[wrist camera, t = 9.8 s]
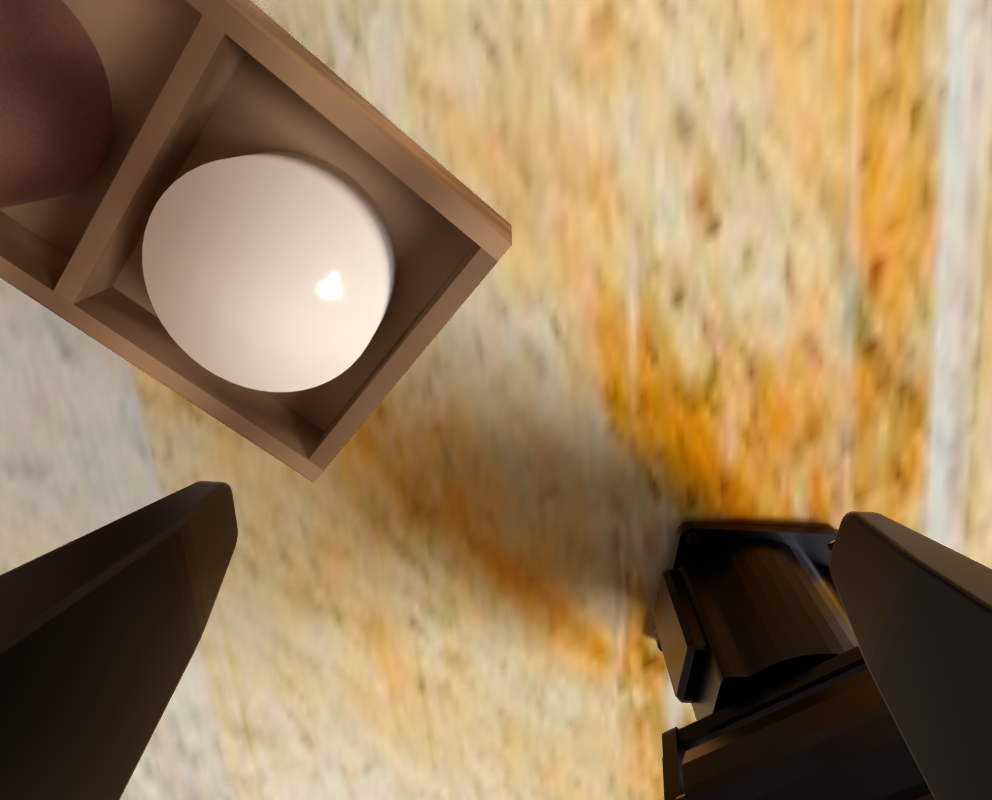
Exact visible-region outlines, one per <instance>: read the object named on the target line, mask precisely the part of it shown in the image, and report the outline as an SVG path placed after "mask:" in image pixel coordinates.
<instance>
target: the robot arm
mask: <svg viewBox="0 0 992 800" xmlns="http://www.w3.org/2000/svg"><path fill="white" fill-rule="evenodd" d="M691 533H695V535H694V536H693V537H690V538H688V537H687V535H689V534H691ZM237 537H238V528H237V521H236V515H235V508H234V502H233V495H232V490H231V488H230V486H229V485H228V484H227V483H225V482H211V481H199V482H196V483H194V484H192V485H190V486H188V487H186V488H183V489H181V490H179V491H177V492H175V493H173V494H171V495H169V496H167V497H164V498H162V499H160V500H158V501H156V502H154V503H152V504H150V505H148V506H145V507H143V508H141V509H139V510H137V511H135V512H133V513H131V514H129V515H127V516H124V517H122V518H120V519H118V520H116V521H114V522H112V523H110V524H108V525H105V526H103V527H101V528H99V529H97V530H95V531H93V532H91V533H89V534H86V535H84V536H82V537H80V538H78V539H76V540H74V541H72V542H70V543H67V544H65V545H63V546H61V547H59V548H57V549H55V550H53V551H51V552H48V553H46V554H44V555H42V556H40V557H38V558H36V559H34V560H32V561H29V562H27V563H25V564H23V565H21V566H19V567H17V568H15V569H13V570H11V571H8V572H6V573H4V574H2V575H0V800H119V799H120V798H121V796H122V794H123V792H124V790H125V788H126V786H127V784H128V782H129V780H130V778H131V776H132V774H133V772H134V770H135V768H136V766H137V764H138V762H139V760H140V758H141V756H142V754H143V752H144V750H145V748H146V746H147V744H148V742H149V740H150V738H151V736H152V734H153V732H154V730H155V728H156V726H157V725H158V723H159V721H160V719H161V717H162V715H163V713H164V711H165V709H166V707H167V705H168V703H169V701H170V699H171V697H172V695H173V693H174V691H175V689H176V687H177V685H178V683H179V681H180V679H181V677H182V675H183V673H184V671H185V669H186V667H187V665H188V663H189V661H190V659H191V657H192V655H193V654H194V651H195V649H196V647H197V645H198V643H199V641H200V639H201V637H202V634H203V632H204V629H205V627H206V624H207V622H208V619H209V617H210V614H211V611H212V608H213V606H214V603H215V600H216V598H217V595H218V592H219V590H220V587H221V584H222V581H223V579H224V576H225V573H226V571H227V568H228V565H229V563H230V560H231V557H232V555H233V552H234V549H235V546H236V543H237ZM832 540H835V541H834V542H833V543H831V544H828V543H829V542H830V541H832ZM653 620H654V624H655V627H656V631H657V633H656V642H657V646H658V648H659V650H660V651H662V652H663V655H664V658H665V662H666V665H667V669H668V672H669V676H670V679H671V683H672V686H673V690H674V693H675V696H676V697H677V698H678V699H679V700H680V702H682V703H691V704H692V707H693V710H694V713H695V717H696V720H697V721H695V722H693V723H691V724H689V725H686V726H684V727H682V728H680V729H678V728H677V727H675V728H673V729H670V730H668V731H666V732H664V733H662V745H663V758H662V760H663V779H664V799H665V800H992V569H990V568H988V567H986V566H984V565H982V564H980V563H978V562H976V561H974V560H972V559H970V558H968V557H966V556H964V555H962V554H960V553H958V552H956V551H954V550H952V549H950V548H948V547H946V546H944V545H942V544H940V543H938V542H936V541H934V540H932V539H930V538H928V537H926V536H924V535H922V534H920V533H918V532H916V531H913V530H911V529H909V528H907V527H905V526H903V525H901V524H899V523H897V522H895V521H893V520H891V519H889V518H887V517H885V516H883V515H881V514H879V513H874V512H849V513H847V514H846V515H845V516H844V517H843V519H842V521H841V524H840V527H839V530H837V529H832V528H811V527H791V526H770V525H749V524H728V523H708V522H687V523H684V524H682V525H681V526H680V527H679V529H678V531H677V535H676V539H675V544H674V549H673V554H672V559H671V564H670V569H666V570H665V571H664V572H663V573H662V577H661V582H660V587H659V592H658V597H657V602H656V607H655V612H654V617H653Z"/></svg>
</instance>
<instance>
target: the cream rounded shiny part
mask: <svg viewBox="0 0 992 800" xmlns="http://www.w3.org/2000/svg"><path fill="white" fill-rule="evenodd" d="M142 266H143V274H144V280H145V284H146V288H147V292H148V295H149V298H150V300H151V303H152V305H153V308H154V310H155V312H156V314H157V316H158V317H159V319H160V321H161V323H162V324H163V326H164V327H165V329H166V330H167V332H168V333H169V335H170V336H171V337H172V338H173V339H174V341H175V342H176V343H177V344H178V345H179V346H180V348H181V349H182V350H184V351H185V352H186V353H187V354H188V355H189V356H190V357H191V358H192V359H193V360H195V361H196V362H197V363H199V364H200V365H201V366H203V367H204V368H205V369H207V370H209V371H210V372H212V373H214V374H215V375H217V376H219V377H221V378H223V379H225V380H227V381H229V382H231V383H234V384H237V385H240V386H243V387H246V388H250V389H255V390H259V391H268V392H293V391H301V390H306V389H309V388H313V387H316V386H319V385H321V384H324V383H326V382H328V381H330V380H332V379H334V378H335V377H337V376H339V375H340V374H342V373H343V372H344V371H345V370H347V369H348V368H349V367H350V366H351V365H352V364H353V363H354V362H355V361H356V360H357V359H358V358H359V357H360V356H361V354H362V353H363V351H364V350H365V348H366V347H367V346H368V344H369V342H370V341H371V339H372V337H373V335H374V334H375V332H376V330H377V329H378V327H379V325H380V323H381V322H382V320H383V318H384V317H385V315H386V313H387V311H388V309H389V307H390V305H391V302H392V299H393V296H394V293H395V288H396V283H397V270H398V265H397V253H396V248H395V244H394V239H393V236H392V233H391V231H390V228H389V225H388V223H387V221H386V219H385V217H384V215H383V213H382V211H381V210H380V208H379V207H378V205H377V204H376V202H375V201H374V199H373V198H372V197H371V196H370V195H369V193H368V192H367V191H366V190H365V189H364V188H363V187H362V186H361V185H360V184H359V183H358V182H357V181H356V180H355V179H354V178H352V177H351V176H350V175H348V174H347V173H346V172H344V171H343V170H341V169H340V168H338V167H336V166H334V165H333V164H331V163H329V162H327V161H324V160H322V159H320V158H317V157H315V156H311V155H307V154H303V153H300V152H291V151H267V152H261V153H255V154H250V155H244V156H238V157H233V158H227V159H221V160H216V161H213V162H210V163H207V164H204V165H201V166H199V167H197V168H195V169H193V170H191V171H189V172H187V173H186V174H184V175H183V176H182V177H180V178H179V179H178V180H176V181H175V182H174V183H173V184H172V185H171V186H170V187H169V188H168V189H167V190H166V191H165V192H164V193H163V195H162V196H161V198H160V199H159V200H158V202H157V203H156V205H155V207H154V209H153V211H152V213H151V215H150V217H149V220H148V223H147V226H146V229H145V233H144V240H143V246H142Z"/></svg>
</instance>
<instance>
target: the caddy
mask: <svg viewBox="0 0 992 800" xmlns="http://www.w3.org/2000/svg"><path fill="white" fill-rule="evenodd" d="M62 1H63V2H64V3H65V4H66V5H67V7H68V8H69V9H70V10H71V11H72V12H73V14H74V15H75V16H76V17H77V19H78V20H79V21H80V23H81V24H82V26H83V27H84V29H85V30H86V32H87V33H88V35H89V37H90V38H91V40H92V42H93V44H94V46H95V48H96V49H97V51H98V54H99V56H100V58H101V60H102V63H103V65H104V68H105V70H106V74H107V77H108V80H109V84H110V89H111V95H112V103H113V124H112V131H111V136H110V141H109V144H108V147H107V150H106V153H105V155H104V158H103V159H102V161H101V163H100V165H99V166H98V168H97V169H96V171H95V172H94V173H93V174H92V176H91V177H90V178H89V179H88V180H87V181H86V182H84V183H83V184H82V185H81V186H79V187H78V188H76V189H75V190H73V191H71V192H69V193H67V194H64V195H62V196H59V197H55V198H51V199H46V200H41V201H36V202H31V203H26V204H21V205H16V206H10V207H5V208H0V278H2V279H3V280H5V281H6V282H8V283H9V284H11V285H12V286H14V287H15V288H17V289H18V290H20V291H22V292H23V293H25V294H26V295H28V296H29V297H31V298H32V299H34V300H35V301H37V302H38V303H40V304H41V305H43V306H44V307H46V308H47V309H49V310H51V311H52V312H54V313H55V314H57V315H58V316H60V317H61V318H63V319H64V320H66V321H67V322H69V323H70V324H72V325H73V326H75V327H77V328H78V329H80V330H81V331H83V332H84V333H86V334H87V335H89V336H90V337H92V338H93V339H95V340H96V341H98V342H99V343H101V344H103V345H104V346H106V347H107V348H109V349H110V350H112V351H113V352H115V353H116V354H118V355H119V356H121V357H122V358H124V359H125V360H127V361H128V362H130V363H132V364H133V365H135V366H136V367H138V368H139V369H141V370H142V371H144V372H145V373H147V374H148V375H150V376H151V377H153V378H154V379H156V380H158V381H159V382H161V383H162V384H164V385H165V386H167V387H168V388H170V389H171V390H173V391H174V392H176V393H177V394H179V395H180V396H182V397H184V398H185V399H187V400H188V401H190V402H191V403H193V404H194V405H196V406H197V407H199V408H200V409H202V410H203V411H205V412H206V413H208V414H209V415H211V416H213V417H214V418H216V419H217V420H219V421H220V422H222V423H223V424H225V425H226V426H228V427H229V428H231V429H232V430H234V431H235V432H237V433H239V434H240V435H242V436H243V437H245V438H246V439H248V440H249V441H251V442H252V443H254V444H255V445H257V446H258V447H260V448H261V449H263V450H265V451H266V452H268V453H269V454H271V455H272V456H274V457H275V458H277V459H278V460H280V461H281V462H283V463H284V464H286V465H287V466H289V467H290V468H292V469H294V470H295V471H297V472H298V473H300V474H301V475H303V476H304V477H306V478H307V479H309V480H310V481H312V482H313V483H314V481H315V480H316V479H317V478H318V477H319V475H320V474H321V473H322V472H323V471H324V469H325V468H326V467H327V466H328V465H329V463H330V462H331V461H332V460H333V459H334V457H335V456H336V455H337V454H338V453H339V451H340V450H341V449H342V448H343V447H344V445H345V444H346V443H347V442H348V441H349V439H350V438H351V437H352V436H353V435H354V433H355V432H356V431H357V430H358V429H359V427H360V426H361V425H362V424H363V423H364V421H365V420H366V419H367V418H368V417H369V415H370V414H371V413H372V412H373V411H374V409H375V408H376V407H377V406H378V405H379V403H380V402H381V401H382V400H383V399H384V397H385V396H386V395H387V394H388V393H389V391H390V390H391V389H392V388H393V387H394V385H395V384H396V383H397V382H398V381H399V379H400V378H401V377H402V376H403V375H404V373H405V372H406V371H407V370H408V369H409V367H410V366H411V365H412V364H413V363H414V361H415V360H416V359H417V358H418V357H419V355H420V354H421V353H422V352H423V351H424V349H425V348H426V347H427V346H428V345H429V343H430V342H431V341H432V340H433V339H434V337H435V336H436V335H437V334H438V333H439V331H440V330H441V329H442V328H443V327H444V325H445V324H446V323H447V322H448V321H449V320H450V318H451V317H452V316H453V315H454V314H455V312H456V311H457V310H458V309H459V308H460V306H461V305H462V304H463V303H464V302H465V300H466V299H467V298H468V297H469V296H470V294H471V293H472V292H473V291H474V290H475V288H476V287H477V286H478V285H479V284H480V282H481V281H482V280H483V279H484V278H485V276H486V275H487V274H488V273H489V272H490V270H491V269H492V268H493V267H494V266H495V264H496V263H497V262H498V261H499V260H500V258H501V257H502V256H503V255H504V254H505V252H506V251H507V250H508V249H509V248H510V246H511V245H512V232H511V224H509V223H508V222H507V221H506V220H505V219H504V218H502V217H501V216H500V215H499V214H498V213H497V212H495V211H494V210H493V209H492V208H491V207H490V206H488V205H487V204H486V203H485V202H484V201H483V200H481V199H480V198H479V197H478V196H477V195H476V194H474V193H473V192H472V191H471V190H470V189H469V188H468V187H466V186H465V185H464V184H463V183H462V182H461V181H459V180H458V179H457V178H456V177H455V176H454V175H452V174H451V173H450V172H449V171H448V170H447V169H445V168H444V167H443V166H442V165H441V164H440V163H438V162H437V161H436V160H435V159H434V158H433V157H431V156H430V155H429V154H428V153H427V152H426V151H424V150H423V149H422V148H421V147H420V146H419V145H418V144H416V143H415V142H414V141H413V140H412V139H411V138H409V137H408V136H407V135H406V134H405V133H404V132H402V131H401V130H400V129H399V128H398V127H397V126H395V125H394V124H393V123H392V122H391V121H390V120H388V119H387V118H386V117H385V116H384V115H383V114H381V113H380V112H379V111H378V110H377V109H376V108H375V107H373V106H372V105H371V104H370V103H369V102H368V101H366V100H365V99H364V98H363V97H362V96H361V95H359V94H358V93H357V92H356V91H355V90H354V89H352V88H351V87H350V86H349V85H348V84H347V83H345V82H344V81H343V80H342V79H341V78H340V77H338V76H337V75H336V74H335V73H334V72H333V71H332V70H330V69H329V68H328V67H327V66H326V65H325V64H323V63H322V62H321V61H320V60H319V59H318V58H316V57H315V56H314V55H313V54H312V53H311V52H309V51H308V50H307V49H306V48H305V47H304V46H302V45H301V44H300V43H299V42H298V41H297V40H295V39H294V38H293V37H292V36H291V35H290V34H289V33H287V32H286V31H285V30H284V29H283V28H282V27H280V26H279V25H278V24H277V23H276V22H275V21H273V20H272V19H271V18H270V17H269V16H268V15H266V14H265V13H264V12H263V11H262V10H261V9H259V8H258V7H257V6H256V5H255V4H254V3H252V2H251V1H250V0H62ZM267 151H291V152H300V153H303V154H307V155H311V156H315V157H317V158H320V159H322V160H324V161H327V162H329V163H331V164H333V165H334V166H336V167H338V168H340V169H341V170H343V171H344V172H346V173H347V174H348V175H350V176H351V177H352V178H354V179H355V180H356V181H357V182H358V183H359V184H360V185H361V186H362V187H363V188H364V189H365V190H366V191H367V192H368V193H369V195H370V196H371V197H372V198H373V199H374V201H375V202H376V204H377V205H378V207H379V208H380V210H381V211H382V213H383V215H384V217H385V219H386V221H387V223H388V225H389V228H390V231H391V233H392V236H393V239H394V244H395V248H396V253H397V265H398V270H397V283H396V288H395V293H394V296H393V299H392V302H391V305H390V307H389V309H388V311H387V313H386V315H385V317H384V318H383V320H382V322H381V323H380V325H379V327H378V329H377V330H376V332H375V334H374V335H373V337H372V339H371V341H370V342H369V344H368V346H367V347H366V348H365V350H364V351H363V353H362V354H361V356H360V357H359V358H358V359H357V360H356V361H355V362H354V363H353V364H352V365H351V366H350V367H349V368H348V369H347V370H345V371H344V372H343V373H342V374H340V375H339V376H337V377H335V378H334V379H332V380H330V381H328V382H326V383H324V384H321V385H319V386H316V387H313V388H309V389H306V390H301V391H293V392H268V391H259V390H255V389H250V388H246V387H243V386H240V385H237V384H234V383H231V382H229V381H227V380H225V379H223V378H221V377H219V376H217V375H215V374H214V373H212V372H210V371H209V370H207V369H205V368H204V367H203V366H201V365H200V364H199V363H197V362H196V361H195V360H193V359H192V358H191V357H190V356H189V355H188V354H187V353H186V352H185V351H184V350H182V349H181V348H180V346H179V345H178V344H177V343H176V342H175V341H174V339H173V338H172V337H171V336H170V335H169V333H168V332H167V330H166V329H165V327H164V326H163V324H162V323H161V321H160V319H159V317H158V316H157V314H156V312H155V310H154V308H153V305H152V303H151V300H150V298H149V295H148V292H147V288H146V284H145V280H144V274H143V266H142V246H143V240H144V233H145V229H146V226H147V223H148V220H149V217H150V215H151V213H152V211H153V209H154V207H155V205H156V203H157V202H158V200H159V199H160V198H161V196H162V195H163V193H164V192H165V191H166V190H167V189H168V188H169V187H170V186H171V185H172V184H173V183H174V182H175V181H176V180H178V179H179V178H180V177H182V176H183V175H184V174H186V173H187V172H189V171H191V170H193V169H195V168H197V167H199V166H201V165H204V164H207V163H210V162H213V161H216V160H221V159H227V158H233V157H238V156H244V155H250V154H255V153H261V152H267Z"/></svg>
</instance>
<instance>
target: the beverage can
mask: <svg viewBox="0 0 992 800" xmlns="http://www.w3.org/2000/svg"><path fill="white" fill-rule="evenodd" d="M112 124H113V103H112V95H111V89H110V84H109V80H108V77H107V74H106V70H105V68H104V65H103V63H102V60H101V58H100V56H99V54H98V51H97V49H96V48H95V46H94V44H93V42H92V40H91V38H90V37H89V35H88V33H87V32H86V30H85V29H84V27H83V26H82V24H81V23H80V21H79V20H78V19H77V17H76V16H75V15H74V14H73V12H72V11H71V10H70V9H69V8H68V7H67V5H66V4H65V3H64V2H63V1H62V0H0V208H5V207H10V206H16V205H21V204H26V203H31V202H36V201H41V200H46V199H51V198H55V197H59V196H62V195H64V194H67V193H69V192H71V191H73V190H75V189H76V188H78V187H79V186H81V185H82V184H83V183H84V182H86V181H87V180H88V179H89V178H90V177H91V176H92V174H93V173H94V172H95V171H96V169H97V168H98V166H99V165H100V163H101V161H102V159H103V158H104V155H105V153H106V150H107V147H108V144H109V141H110V136H111V131H112Z"/></svg>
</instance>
